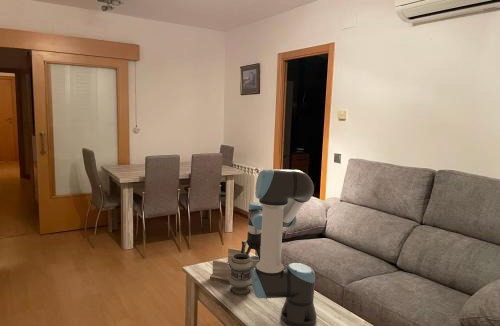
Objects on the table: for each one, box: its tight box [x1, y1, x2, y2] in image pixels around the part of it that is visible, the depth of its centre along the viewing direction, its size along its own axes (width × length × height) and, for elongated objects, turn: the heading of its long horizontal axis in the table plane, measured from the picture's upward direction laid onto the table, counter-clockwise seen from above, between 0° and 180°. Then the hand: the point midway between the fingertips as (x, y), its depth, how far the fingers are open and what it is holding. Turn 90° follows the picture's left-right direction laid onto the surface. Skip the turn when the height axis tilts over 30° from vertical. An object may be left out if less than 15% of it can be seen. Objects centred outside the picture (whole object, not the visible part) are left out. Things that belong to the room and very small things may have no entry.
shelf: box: [209, 247, 247, 285], centre depth 195 cm, size 26×12×10 cm, turn 159°
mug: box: [250, 255, 260, 276], centre depth 190 cm, size 8×12×12 cm, turn 142°
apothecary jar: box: [229, 253, 253, 297], centre depth 174 cm, size 12×12×18 cm
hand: (253, 273), depth 190 cm, fingers closed on mug, 7 cm apart
